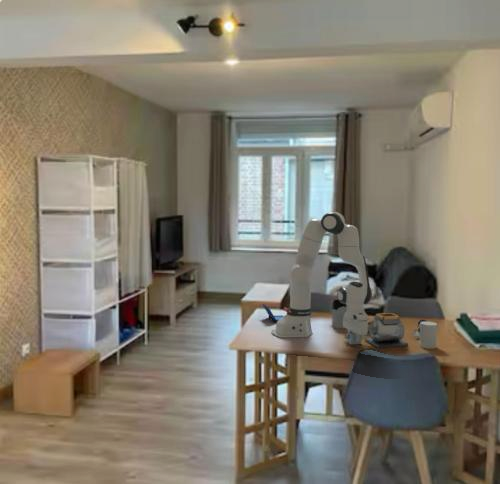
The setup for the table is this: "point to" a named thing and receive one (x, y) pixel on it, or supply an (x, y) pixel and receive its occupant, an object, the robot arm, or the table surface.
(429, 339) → the cup
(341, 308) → the glass holder
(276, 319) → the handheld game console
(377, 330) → the motor
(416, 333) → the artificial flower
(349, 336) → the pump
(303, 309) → the robot arm
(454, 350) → the table surface
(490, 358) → the table surface
